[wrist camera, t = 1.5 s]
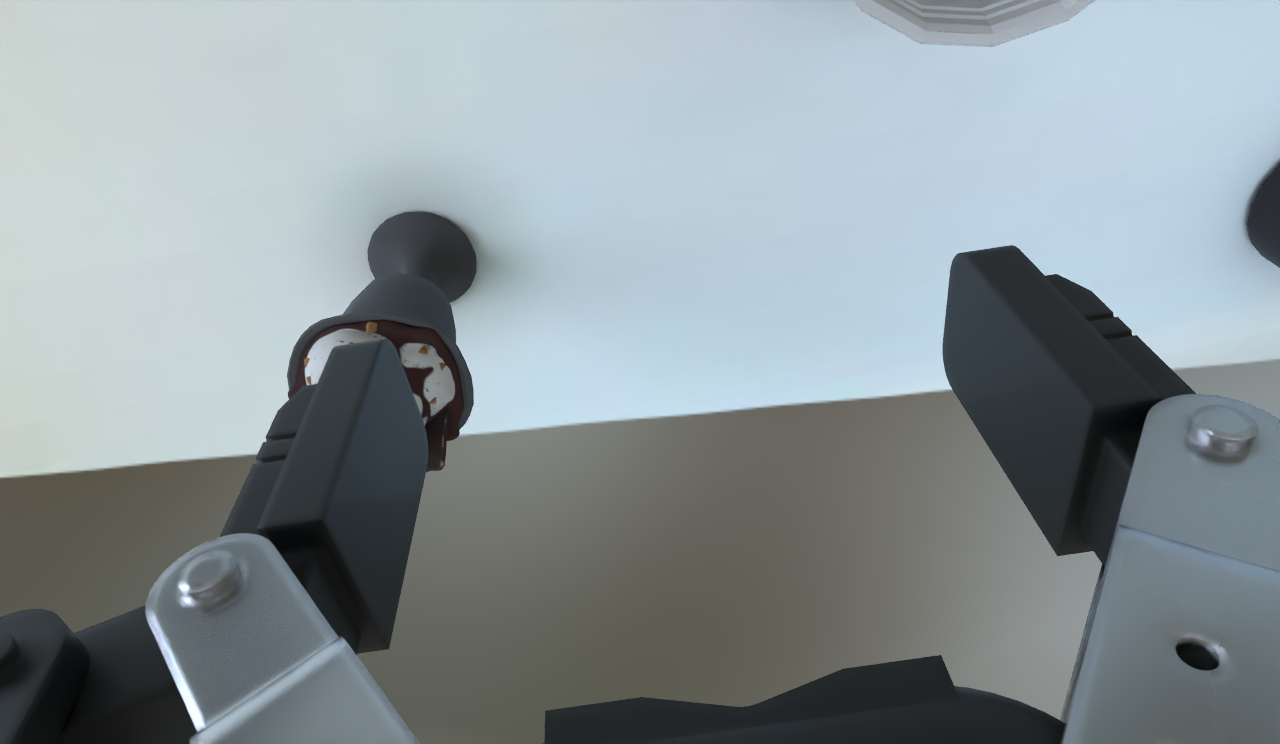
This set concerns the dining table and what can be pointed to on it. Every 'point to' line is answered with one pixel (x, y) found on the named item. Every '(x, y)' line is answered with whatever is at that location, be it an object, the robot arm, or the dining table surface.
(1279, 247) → the bottle
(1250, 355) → the dining table surface
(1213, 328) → the dining table surface
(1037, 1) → the plastic cup
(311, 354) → the sundae
